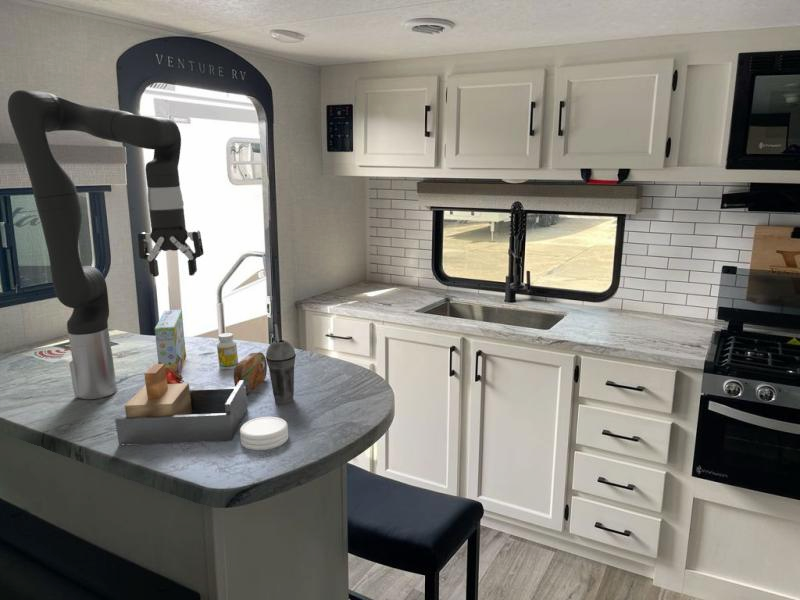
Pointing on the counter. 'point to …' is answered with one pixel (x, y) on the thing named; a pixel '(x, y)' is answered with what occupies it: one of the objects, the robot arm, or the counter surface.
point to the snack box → (171, 340)
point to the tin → (251, 371)
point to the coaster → (264, 433)
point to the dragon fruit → (173, 376)
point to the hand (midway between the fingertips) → (174, 275)
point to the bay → (190, 419)
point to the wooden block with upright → (159, 396)
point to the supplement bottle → (227, 351)
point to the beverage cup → (281, 369)
